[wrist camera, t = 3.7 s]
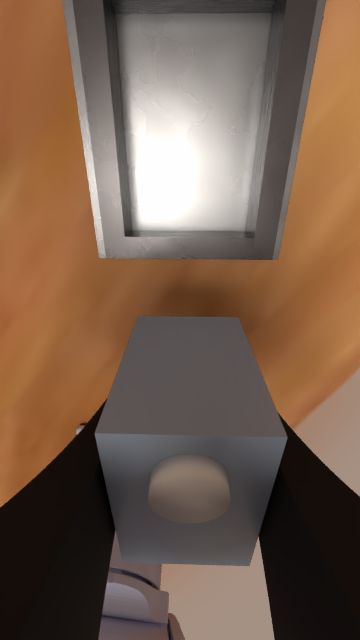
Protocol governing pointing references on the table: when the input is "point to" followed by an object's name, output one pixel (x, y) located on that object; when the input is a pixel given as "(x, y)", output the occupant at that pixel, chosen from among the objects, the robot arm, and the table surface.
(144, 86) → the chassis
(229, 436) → the block
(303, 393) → the table surface
